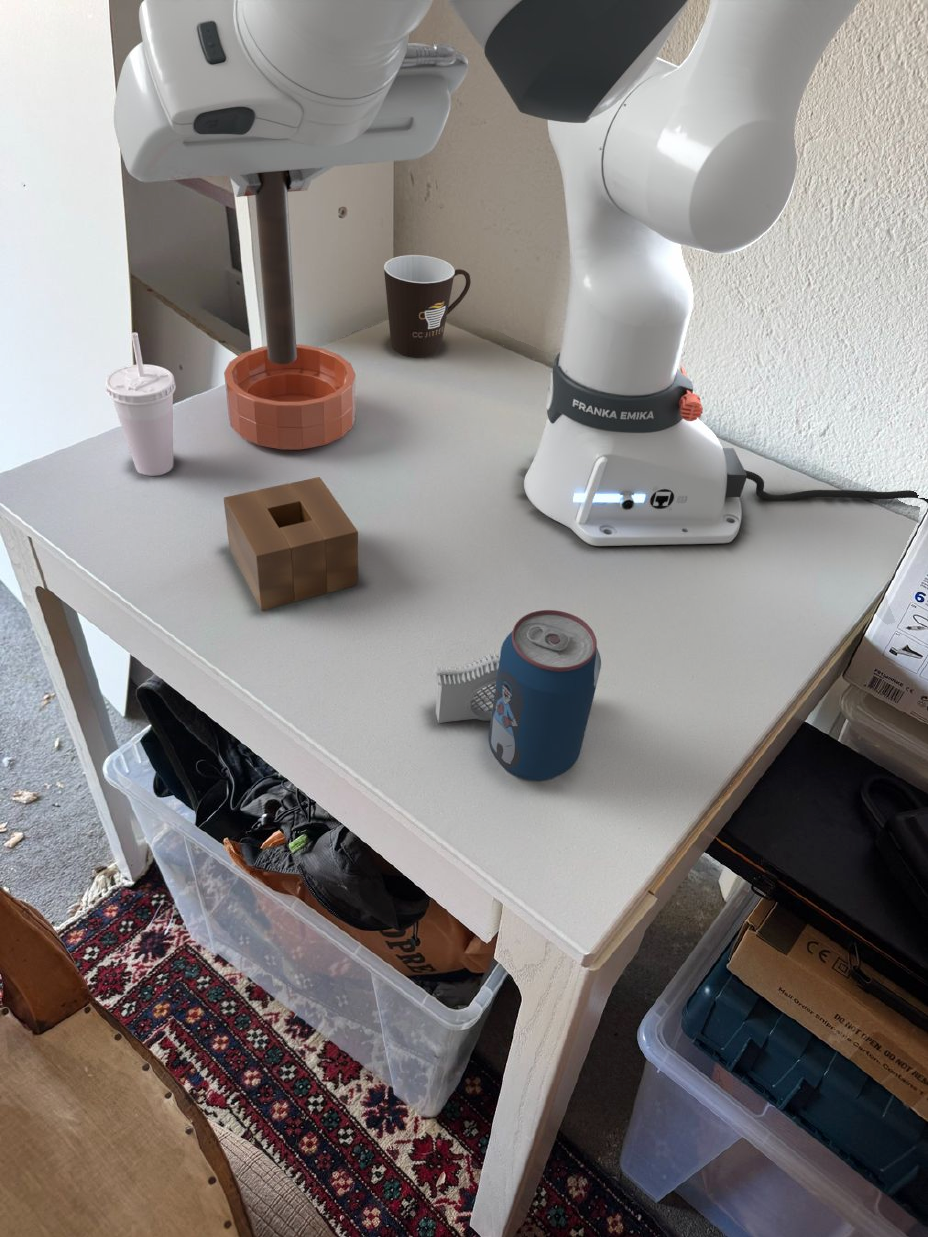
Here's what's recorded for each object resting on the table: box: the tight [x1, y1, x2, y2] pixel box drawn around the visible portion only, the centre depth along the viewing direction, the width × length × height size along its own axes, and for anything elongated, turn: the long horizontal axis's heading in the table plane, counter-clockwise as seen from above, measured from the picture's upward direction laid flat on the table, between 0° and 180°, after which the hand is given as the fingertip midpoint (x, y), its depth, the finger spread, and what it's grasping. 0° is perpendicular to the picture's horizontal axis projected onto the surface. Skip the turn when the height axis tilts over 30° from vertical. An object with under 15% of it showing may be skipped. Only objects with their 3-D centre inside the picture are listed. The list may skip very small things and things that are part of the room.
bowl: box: [223, 343, 357, 451], centre depth 101 cm, size 14×14×6 cm
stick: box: [254, 170, 297, 364], centre depth 64 cm, size 2×2×22 cm
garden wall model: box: [434, 653, 501, 724], centre depth 71 cm, size 12×2×6 cm, turn 102°
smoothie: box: [104, 332, 177, 477], centre depth 90 cm, size 6×6×14 cm
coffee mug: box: [383, 254, 472, 358], centre depth 116 cm, size 12×9×10 cm
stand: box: [223, 476, 359, 611], centre depth 82 cm, size 9×9×6 cm
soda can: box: [488, 609, 602, 783], centre depth 66 cm, size 7×7×12 cm
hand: (267, 183), depth 64 cm, fingers closed on stick, 2 cm apart
